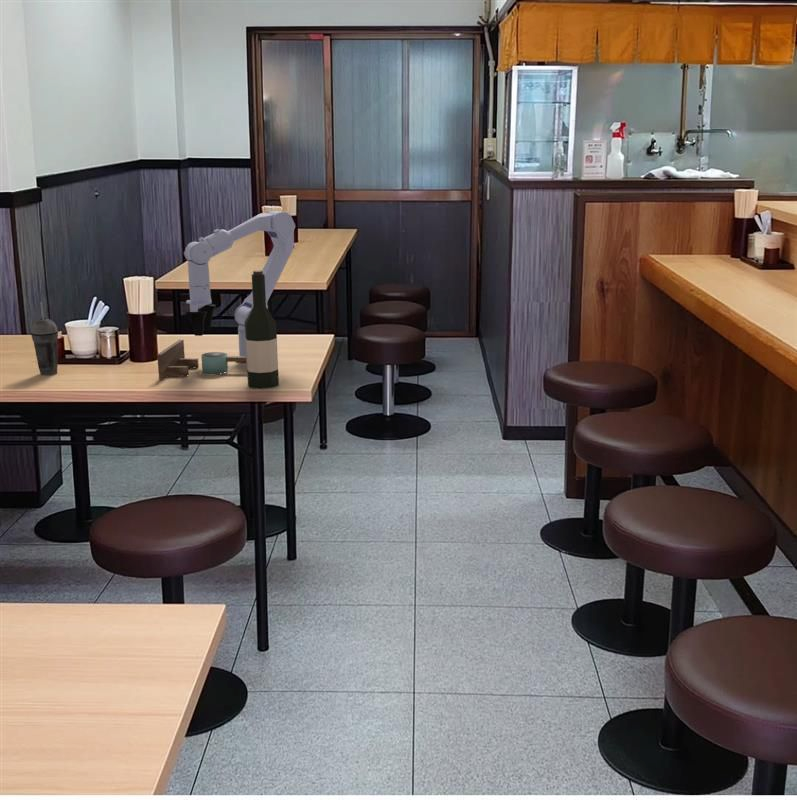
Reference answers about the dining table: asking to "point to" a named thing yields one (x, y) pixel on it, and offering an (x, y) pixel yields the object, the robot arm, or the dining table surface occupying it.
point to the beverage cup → (45, 344)
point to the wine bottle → (261, 339)
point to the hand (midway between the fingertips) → (202, 332)
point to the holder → (175, 361)
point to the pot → (218, 362)
